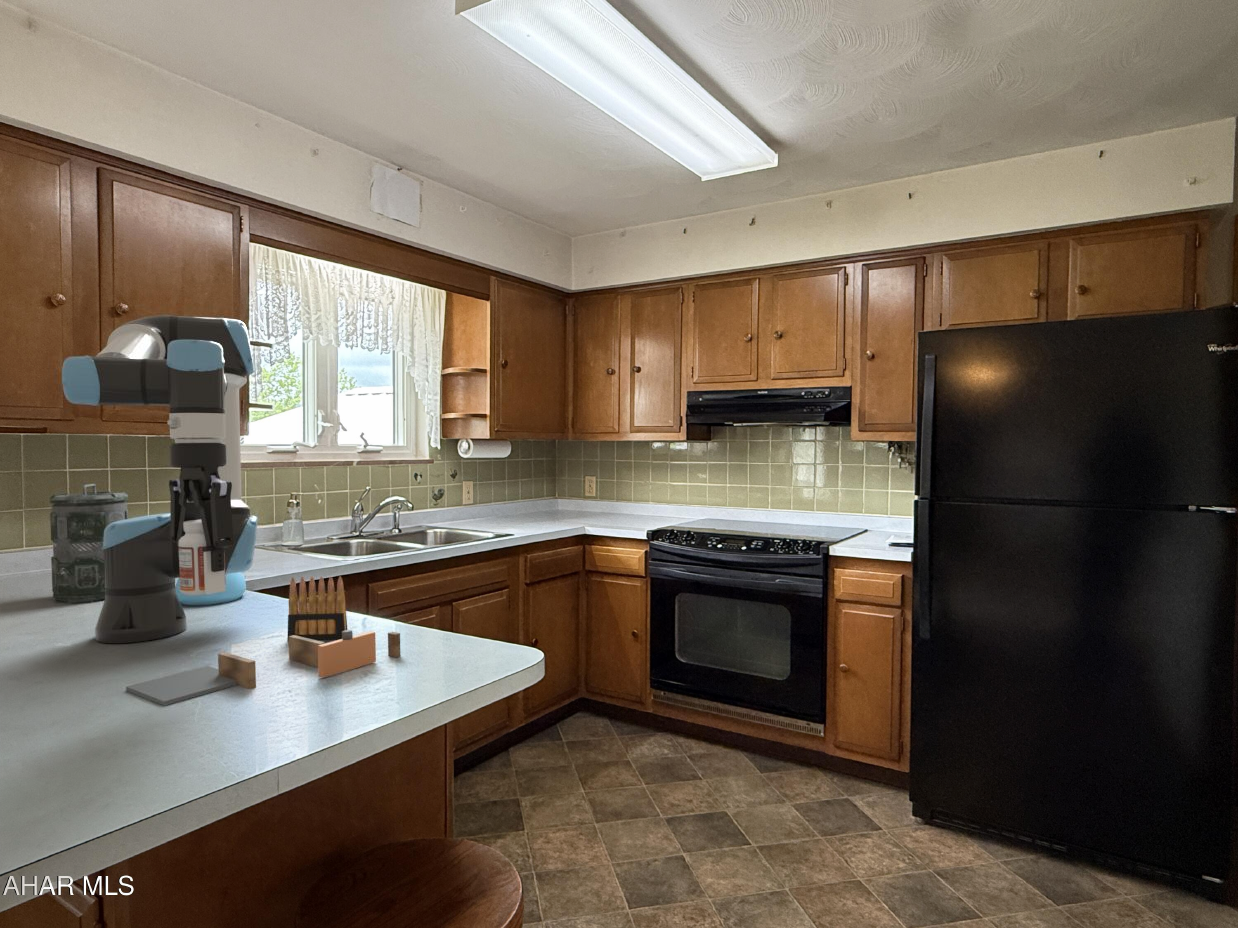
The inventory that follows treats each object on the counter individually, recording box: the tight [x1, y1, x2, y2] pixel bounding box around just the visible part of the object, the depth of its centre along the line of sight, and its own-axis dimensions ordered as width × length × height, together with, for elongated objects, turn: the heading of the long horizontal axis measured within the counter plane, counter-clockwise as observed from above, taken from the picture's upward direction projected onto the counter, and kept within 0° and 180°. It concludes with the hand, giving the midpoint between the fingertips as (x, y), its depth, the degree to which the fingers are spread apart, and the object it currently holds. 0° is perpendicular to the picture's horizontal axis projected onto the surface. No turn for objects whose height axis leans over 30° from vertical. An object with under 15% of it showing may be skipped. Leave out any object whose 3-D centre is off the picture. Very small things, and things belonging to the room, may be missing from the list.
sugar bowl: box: [175, 572, 247, 606], centre depth 175 cm, size 15×15×12 cm
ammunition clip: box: [287, 575, 348, 643], centre depth 138 cm, size 11×2×12 cm, turn 93°
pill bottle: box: [179, 520, 226, 595], centre depth 113 cm, size 6×6×11 cm
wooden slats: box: [217, 631, 401, 689], centre depth 121 cm, size 15×24×4 cm, turn 146°
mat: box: [125, 665, 238, 706], centre depth 112 cm, size 12×12×1 cm
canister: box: [49, 483, 130, 604], centre depth 180 cm, size 16×16×28 cm
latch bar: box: [317, 629, 377, 679], centre depth 119 cm, size 2×10×6 cm, turn 146°
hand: (202, 589), depth 113 cm, fingers closed on pill bottle, 6 cm apart
